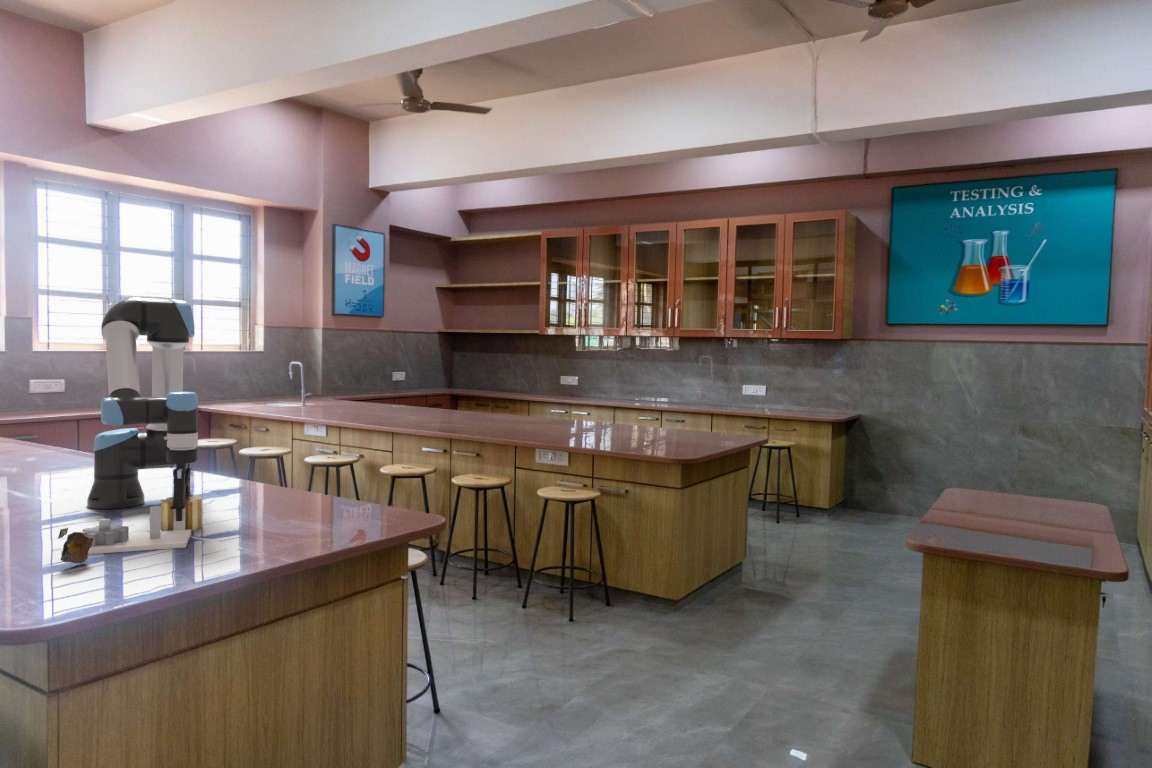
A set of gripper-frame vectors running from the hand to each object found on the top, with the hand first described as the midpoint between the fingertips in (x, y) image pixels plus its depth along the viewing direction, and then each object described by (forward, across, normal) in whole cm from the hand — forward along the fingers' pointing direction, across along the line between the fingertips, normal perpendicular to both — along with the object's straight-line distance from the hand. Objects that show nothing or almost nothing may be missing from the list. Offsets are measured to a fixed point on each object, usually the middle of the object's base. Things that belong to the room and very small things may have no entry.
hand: (181, 527), depth 201 cm
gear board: (0, +14, -10) cm, 18 cm away
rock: (+1, +32, -19) cm, 37 cm away
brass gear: (0, 0, 0) cm, 0 cm away
